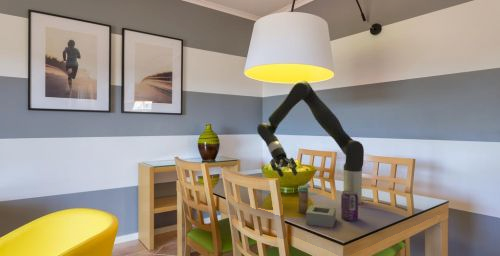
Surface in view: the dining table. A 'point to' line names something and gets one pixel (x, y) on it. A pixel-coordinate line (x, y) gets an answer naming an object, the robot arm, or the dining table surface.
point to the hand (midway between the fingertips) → (289, 175)
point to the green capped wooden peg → (303, 199)
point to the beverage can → (349, 205)
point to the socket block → (321, 216)
